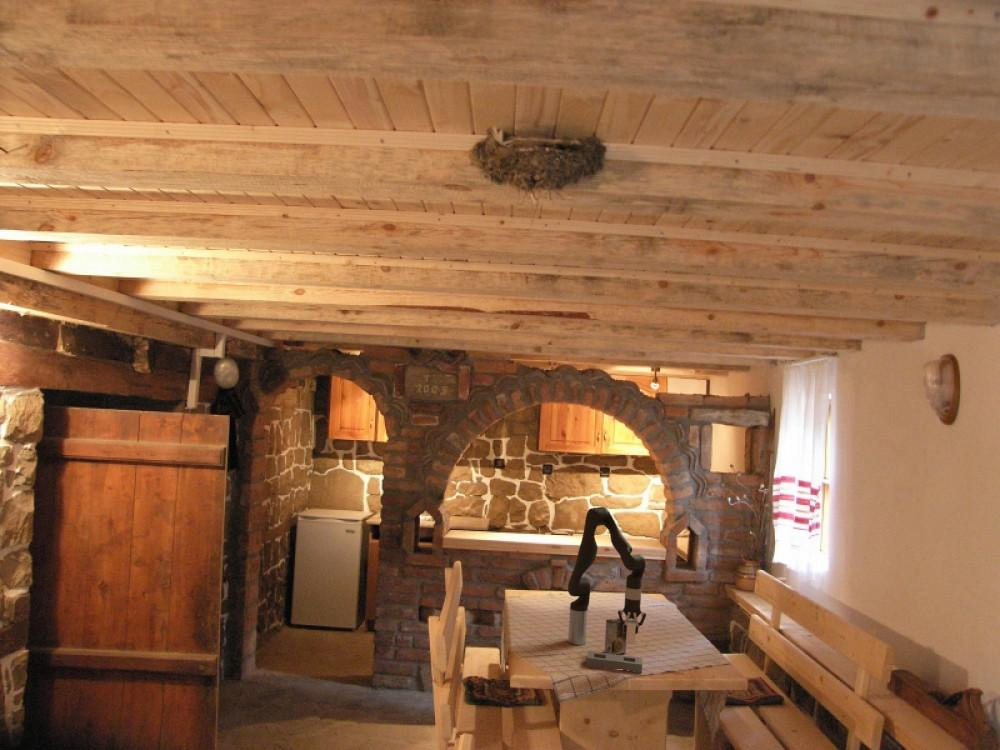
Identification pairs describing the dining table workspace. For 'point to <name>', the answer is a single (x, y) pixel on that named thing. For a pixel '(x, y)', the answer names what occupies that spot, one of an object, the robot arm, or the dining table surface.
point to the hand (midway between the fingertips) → (630, 633)
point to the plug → (631, 632)
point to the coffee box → (615, 637)
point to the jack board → (614, 661)
